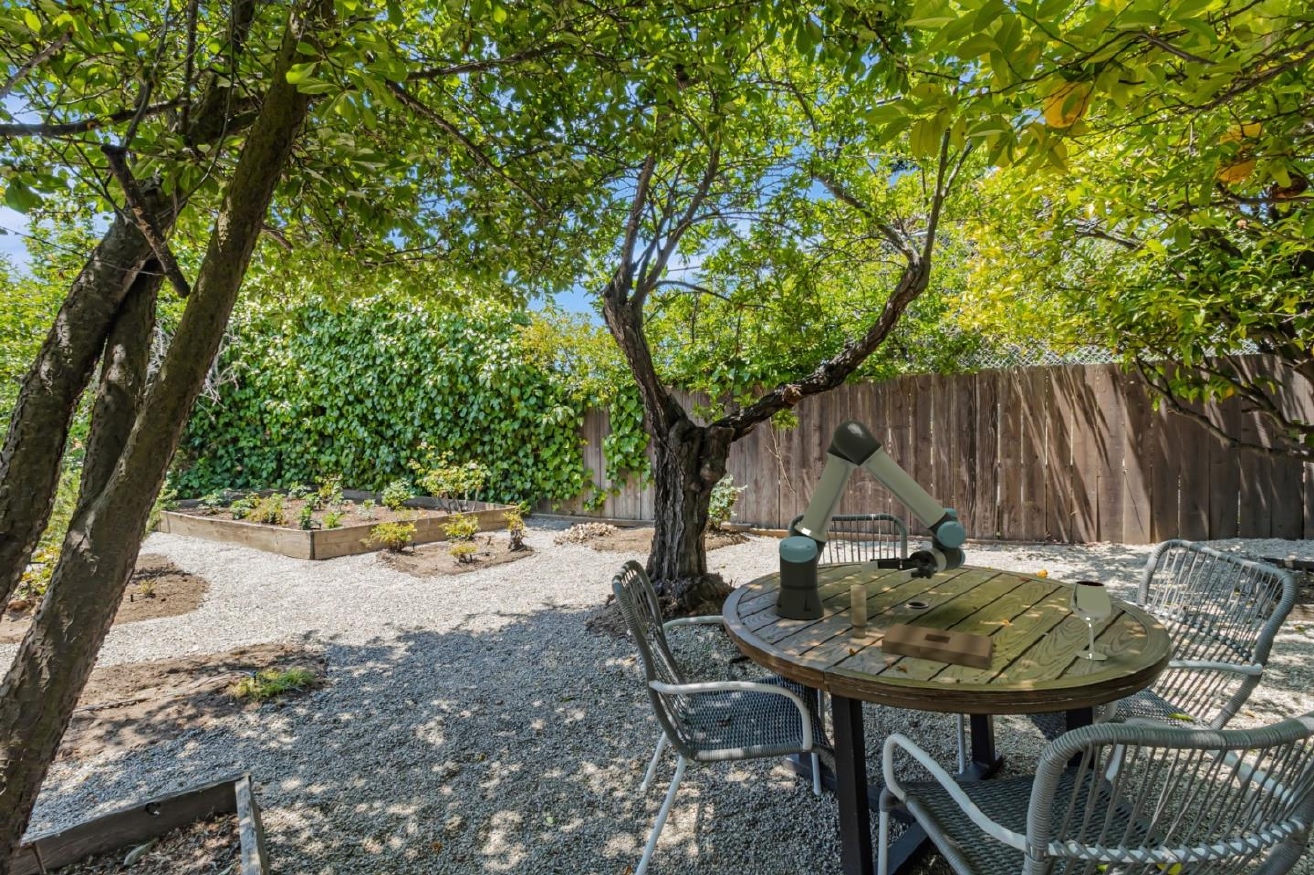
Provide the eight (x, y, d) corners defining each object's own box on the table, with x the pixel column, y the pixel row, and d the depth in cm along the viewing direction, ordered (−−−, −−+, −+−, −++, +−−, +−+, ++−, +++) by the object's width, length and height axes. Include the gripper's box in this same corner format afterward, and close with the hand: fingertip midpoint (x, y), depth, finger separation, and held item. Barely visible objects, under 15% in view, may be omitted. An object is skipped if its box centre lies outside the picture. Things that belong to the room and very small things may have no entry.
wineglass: (1114, 655, 146) (1112, 582, 147) (1110, 665, 140) (1108, 589, 141) (1074, 648, 152) (1072, 578, 152) (1069, 657, 146) (1067, 584, 146)
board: (881, 651, 153) (881, 639, 153) (895, 633, 166) (894, 623, 166) (987, 669, 139) (987, 656, 139) (992, 648, 153) (992, 637, 153)
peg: (849, 637, 164) (848, 586, 164) (853, 633, 167) (852, 583, 168) (865, 639, 162) (864, 588, 162) (869, 635, 165) (867, 585, 165)
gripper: (966, 582, 170) (921, 594, 159) (892, 568, 191) (847, 577, 180) (965, 556, 170) (920, 566, 159) (891, 544, 192) (846, 553, 180)
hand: (881, 572), depth 170 cm, fingers open, 13 cm apart
